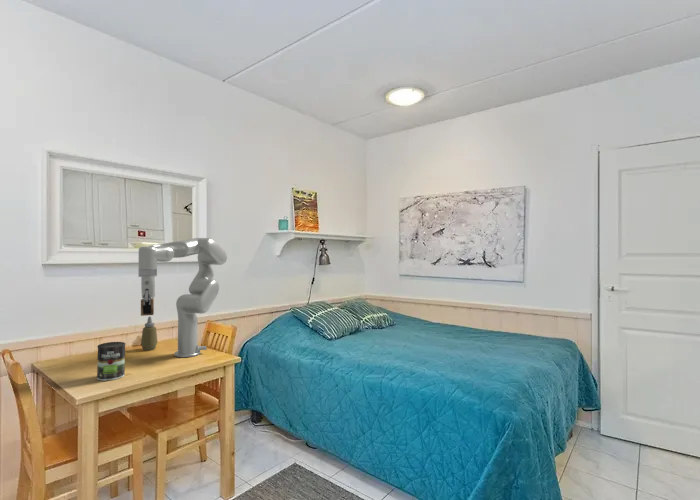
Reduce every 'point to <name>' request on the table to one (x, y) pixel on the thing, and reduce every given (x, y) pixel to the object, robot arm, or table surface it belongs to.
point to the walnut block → (151, 307)
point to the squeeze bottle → (149, 336)
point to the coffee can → (111, 361)
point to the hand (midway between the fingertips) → (147, 312)
